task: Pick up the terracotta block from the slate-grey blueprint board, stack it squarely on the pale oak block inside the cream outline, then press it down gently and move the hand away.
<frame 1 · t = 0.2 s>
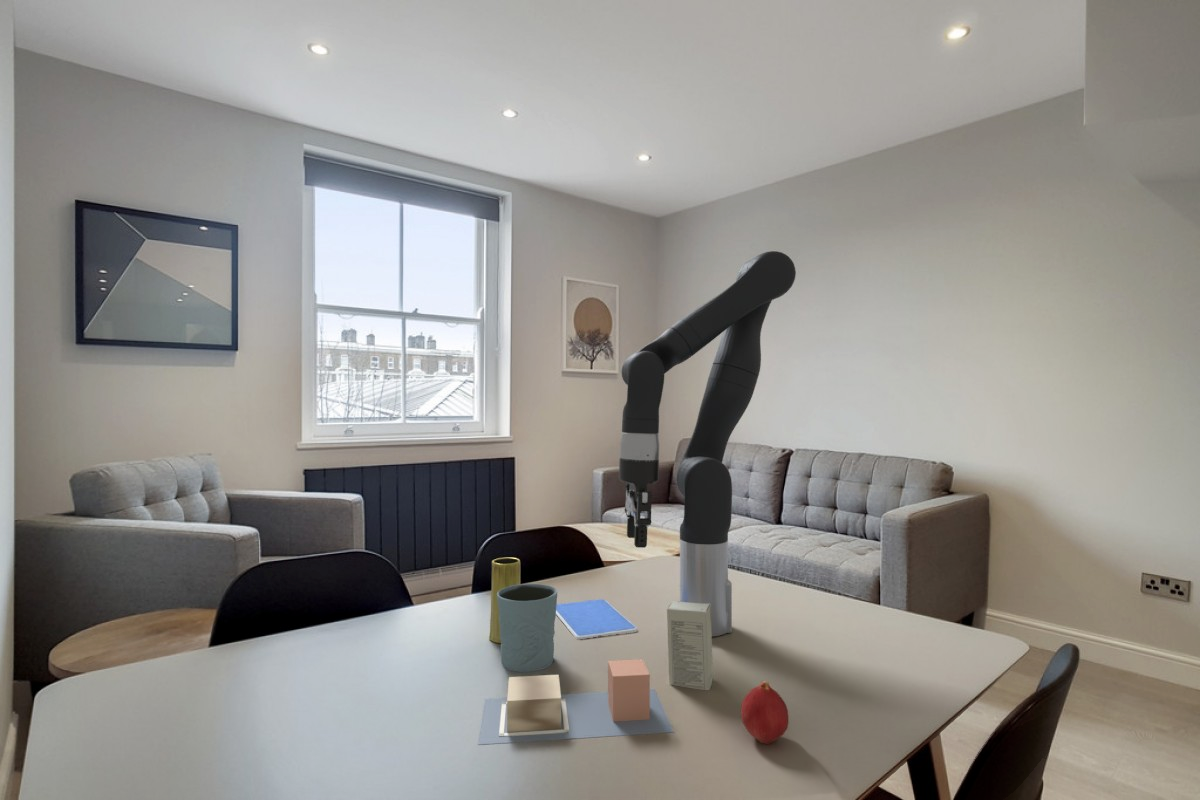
hand: (636, 542, 114), 17 cm above the table, tool pointing down, fingers open, 8 cm apart
vase: (505, 638, 112), on the table
blueprint board: (574, 718, 82), on the table
tablet computer: (591, 622, 121), on the table
terracotta block: (628, 711, 83), point 1 cm above the table, touching blueprint board
onion: (764, 745, 76), on the table
skincare box: (690, 686, 92), on the table
oak base block: (534, 716, 81), point 1 cm above the table, touching blueprint board
grey-green pot: (527, 664, 100), on the table
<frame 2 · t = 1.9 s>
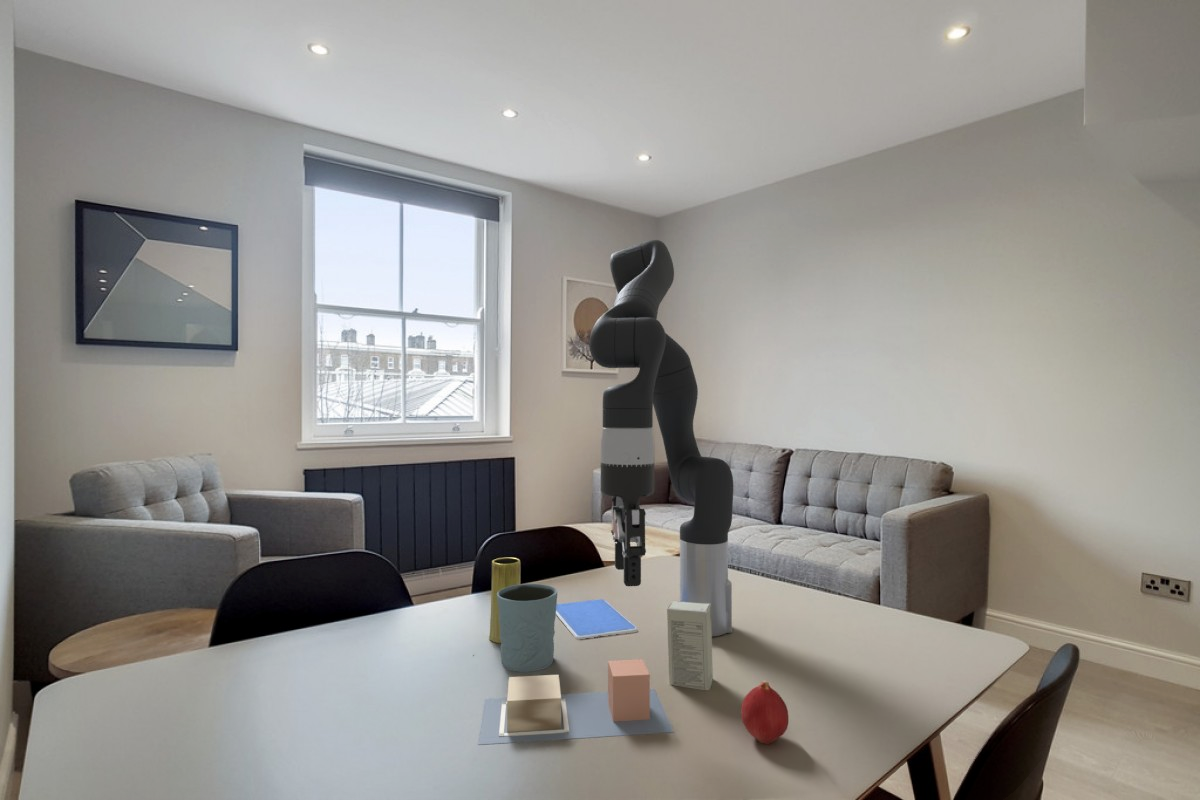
hand: (627, 576, 83), 19 cm above the table, tool pointing down, fingers open, 8 cm apart
nothing on the table moved.
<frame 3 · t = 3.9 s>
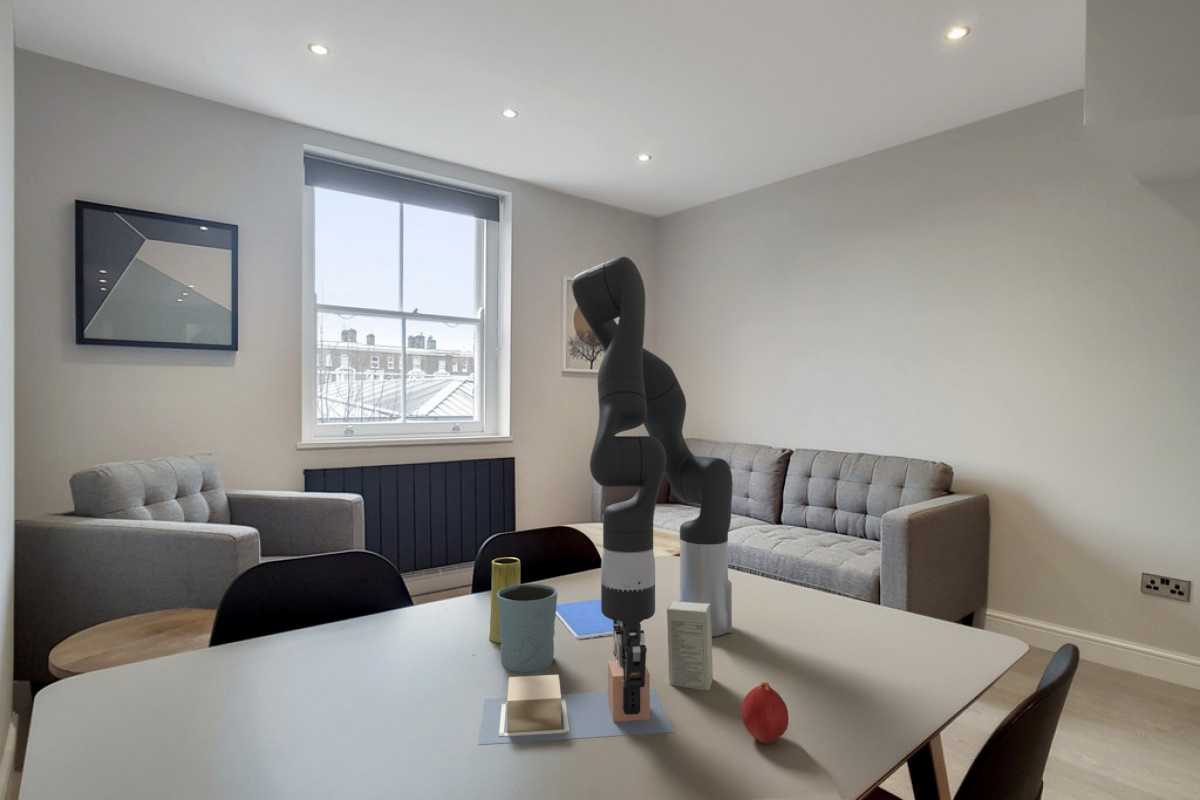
hand: (628, 702, 83), 2 cm above the table, tool pointing down, fingers closed on terracotta block, 5 cm apart
terracotta block: (628, 711, 83), point 1 cm above the table, touching blueprint board, gripper
everything else where it was.
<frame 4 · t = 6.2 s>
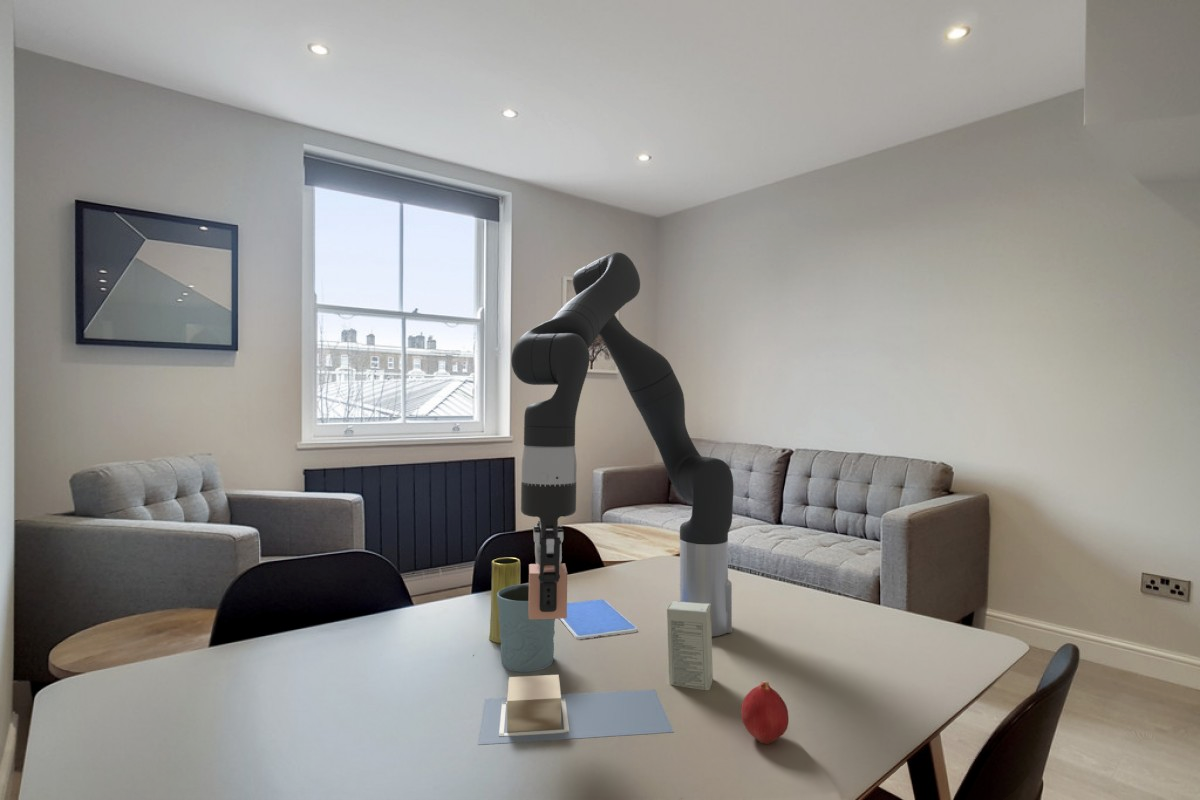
hand: (547, 603, 81), 16 cm above the table, tool pointing down, fingers closed on terracotta block, 5 cm apart
terracotta block: (547, 612, 81), point 15 cm above the table, touching gripper
everything else where it was.
when the fingers open (7 cm above the table, at t = 8.4 s): terracotta block drops 1 cm, resting on oak base block.
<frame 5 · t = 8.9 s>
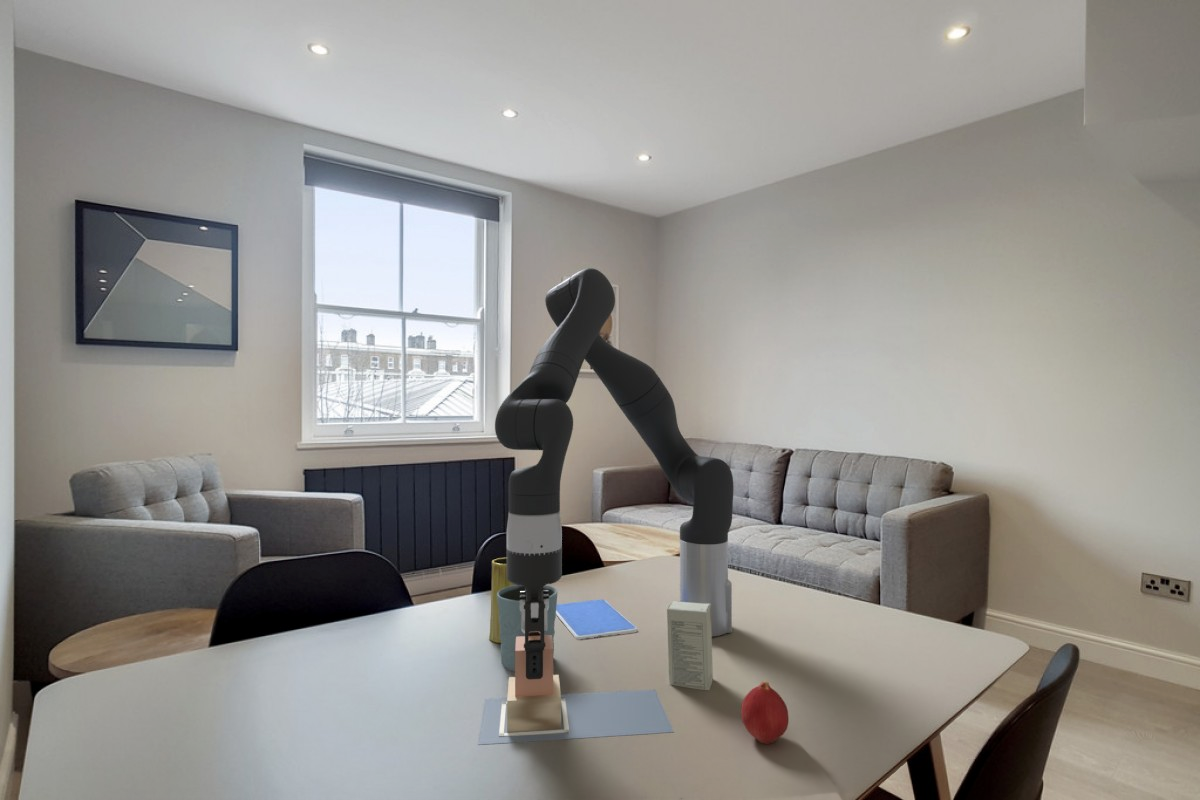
hand: (534, 664, 82), 8 cm above the table, tool pointing down, fingers open, 8 cm apart
terracotta block: (534, 687, 82), point 5 cm above the table, touching oak base block
oak base block: (534, 716, 81), point 1 cm above the table, touching blueprint board, terracotta block
everything else where it was.
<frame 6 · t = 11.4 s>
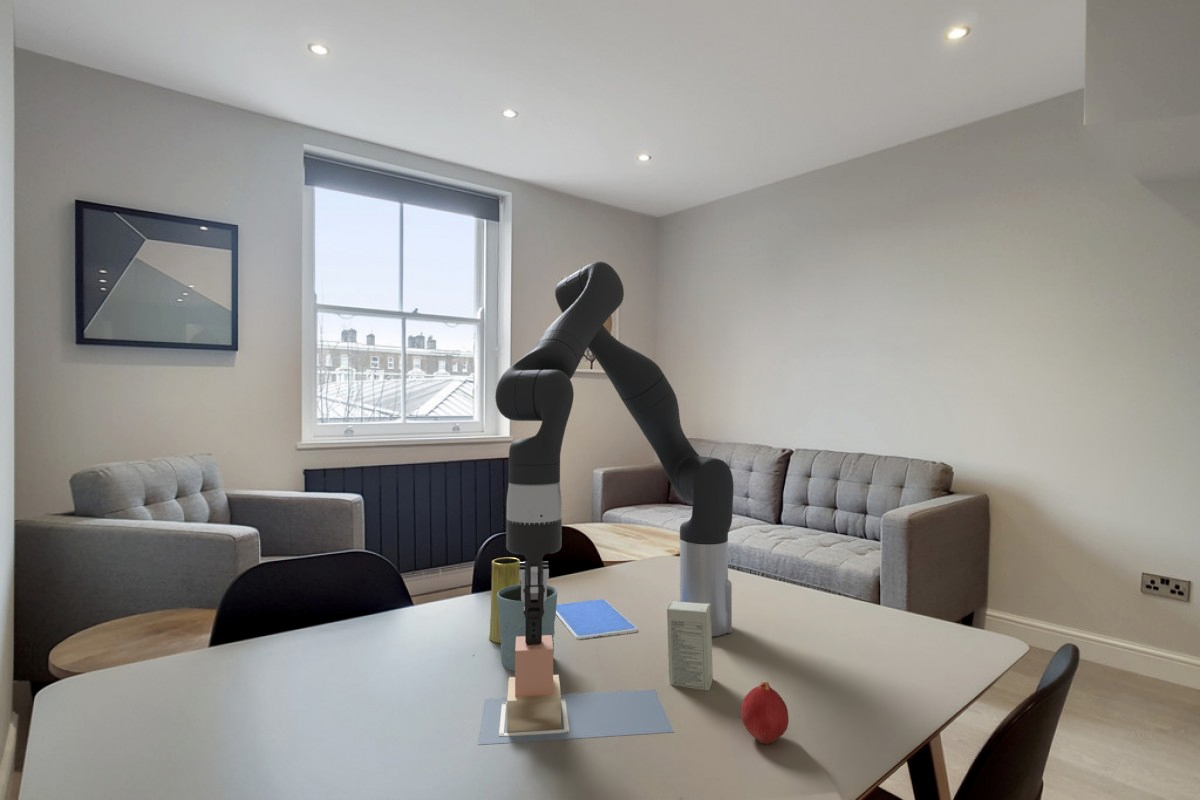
hand: (533, 642, 82), 11 cm above the table, tool pointing down, fingers closed
terracotta block: (534, 687, 82), point 5 cm above the table, touching gripper, oak base block
everything else where it was.
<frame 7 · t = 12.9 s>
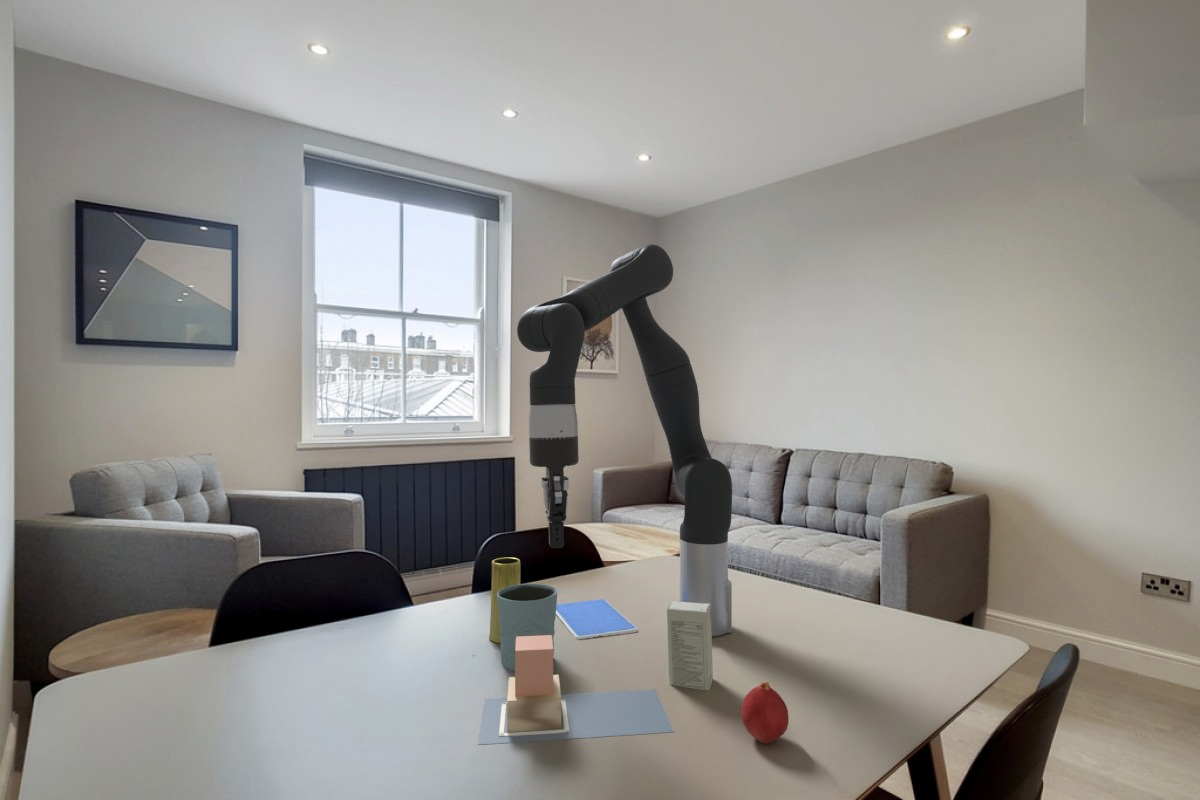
hand: (556, 546, 92), 21 cm above the table, tool pointing down, fingers closed
terracotta block: (534, 687, 82), point 5 cm above the table, touching oak base block
everything else where it was.
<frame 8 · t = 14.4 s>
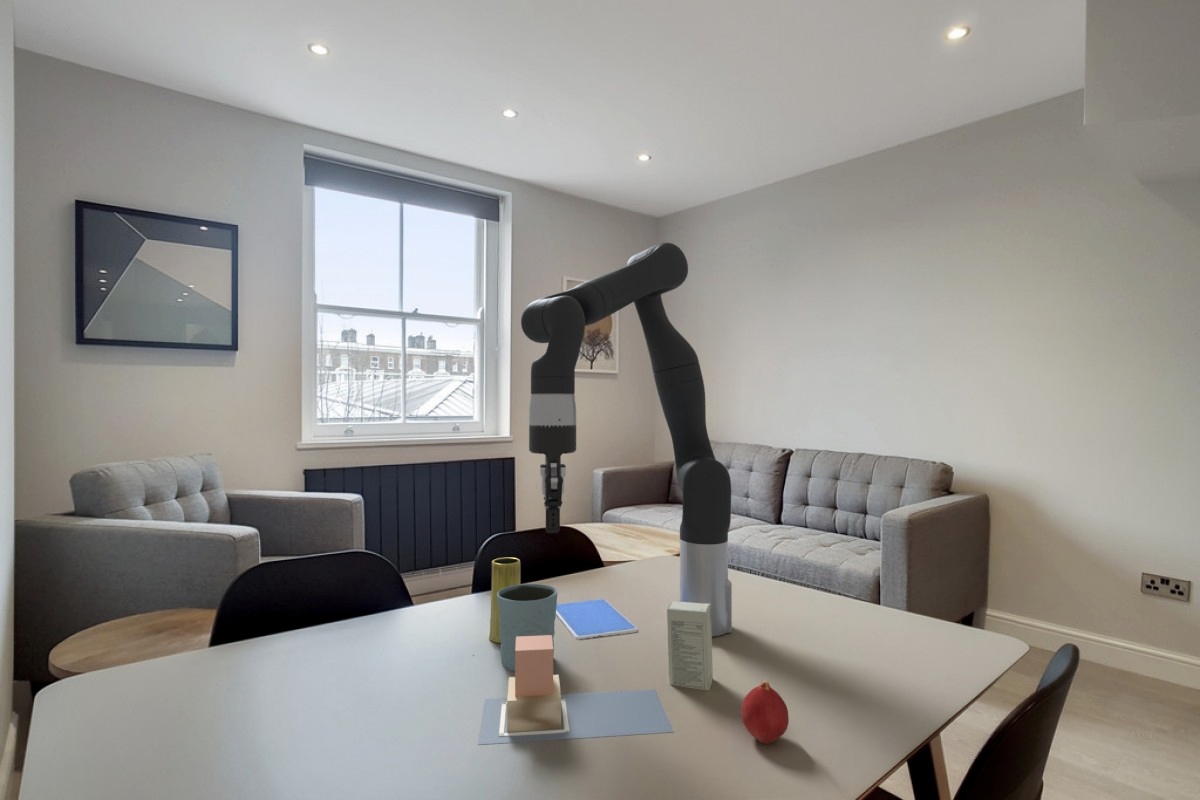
hand: (552, 531, 95), 23 cm above the table, tool pointing down, fingers closed
nothing on the table moved.
at the end: terracotta block 0.1 cm from the oak base block (horizontally); terracotta block point 4.6 cm above the table; terracotta block tilted 0° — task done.
